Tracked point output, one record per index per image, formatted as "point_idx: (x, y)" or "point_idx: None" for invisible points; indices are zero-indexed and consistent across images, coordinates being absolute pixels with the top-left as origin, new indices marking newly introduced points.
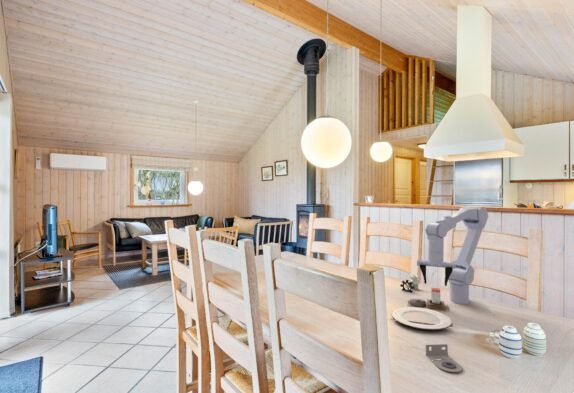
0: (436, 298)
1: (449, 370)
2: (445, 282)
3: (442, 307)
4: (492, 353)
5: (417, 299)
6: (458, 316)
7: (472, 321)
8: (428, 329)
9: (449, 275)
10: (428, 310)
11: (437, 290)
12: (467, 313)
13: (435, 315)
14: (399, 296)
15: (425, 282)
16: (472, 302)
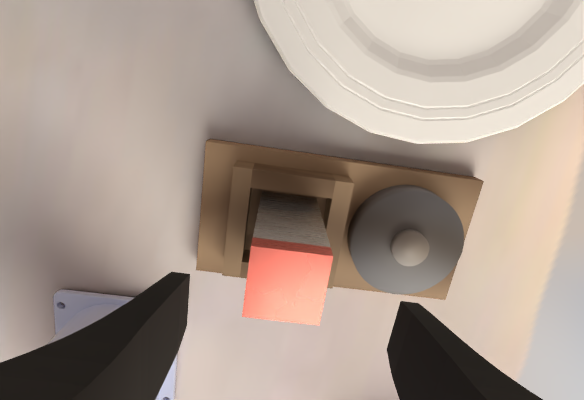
0: (286, 218)
1: None
2: (171, 291)
3: (251, 165)
4: None
5: (411, 254)
6: (162, 101)
7: (82, 19)
8: None
9: (48, 346)
10: (365, 92)
11: (277, 249)
12: (95, 175)
13: (334, 4)
14: None
15: (416, 308)
16: None
